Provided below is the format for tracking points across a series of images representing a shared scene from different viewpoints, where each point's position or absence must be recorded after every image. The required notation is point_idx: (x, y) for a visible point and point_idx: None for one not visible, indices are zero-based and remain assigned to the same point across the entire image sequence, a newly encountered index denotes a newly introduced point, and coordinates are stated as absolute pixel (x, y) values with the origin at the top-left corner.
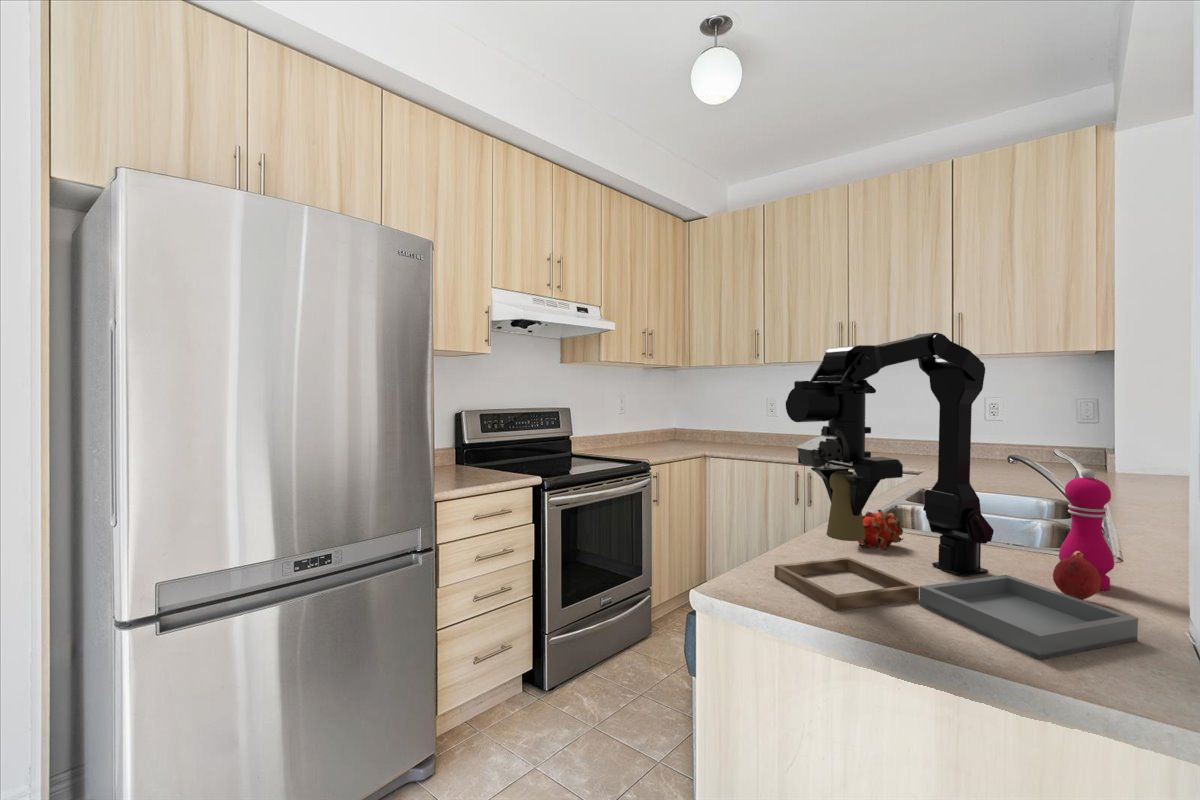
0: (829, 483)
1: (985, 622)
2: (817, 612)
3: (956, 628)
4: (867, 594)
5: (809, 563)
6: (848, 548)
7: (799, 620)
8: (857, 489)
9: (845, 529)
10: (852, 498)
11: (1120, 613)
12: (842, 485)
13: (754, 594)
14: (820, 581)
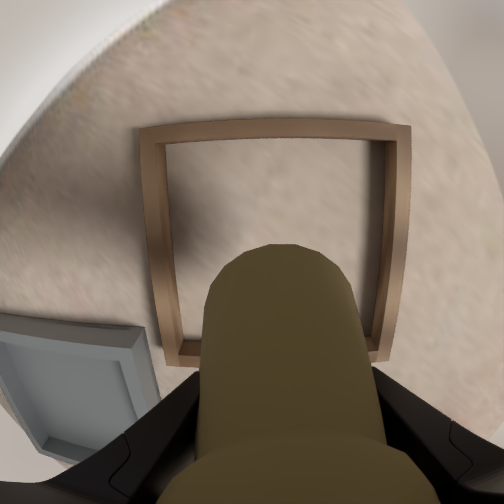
0: (442, 469)
1: (28, 327)
2: (155, 86)
3: (56, 301)
4: (146, 226)
5: (394, 234)
6: (453, 405)
7: (133, 32)
8: (71, 474)
9: (218, 295)
10: (157, 429)
11: (48, 455)
12: (189, 490)
13: (294, 8)
14: (331, 220)
